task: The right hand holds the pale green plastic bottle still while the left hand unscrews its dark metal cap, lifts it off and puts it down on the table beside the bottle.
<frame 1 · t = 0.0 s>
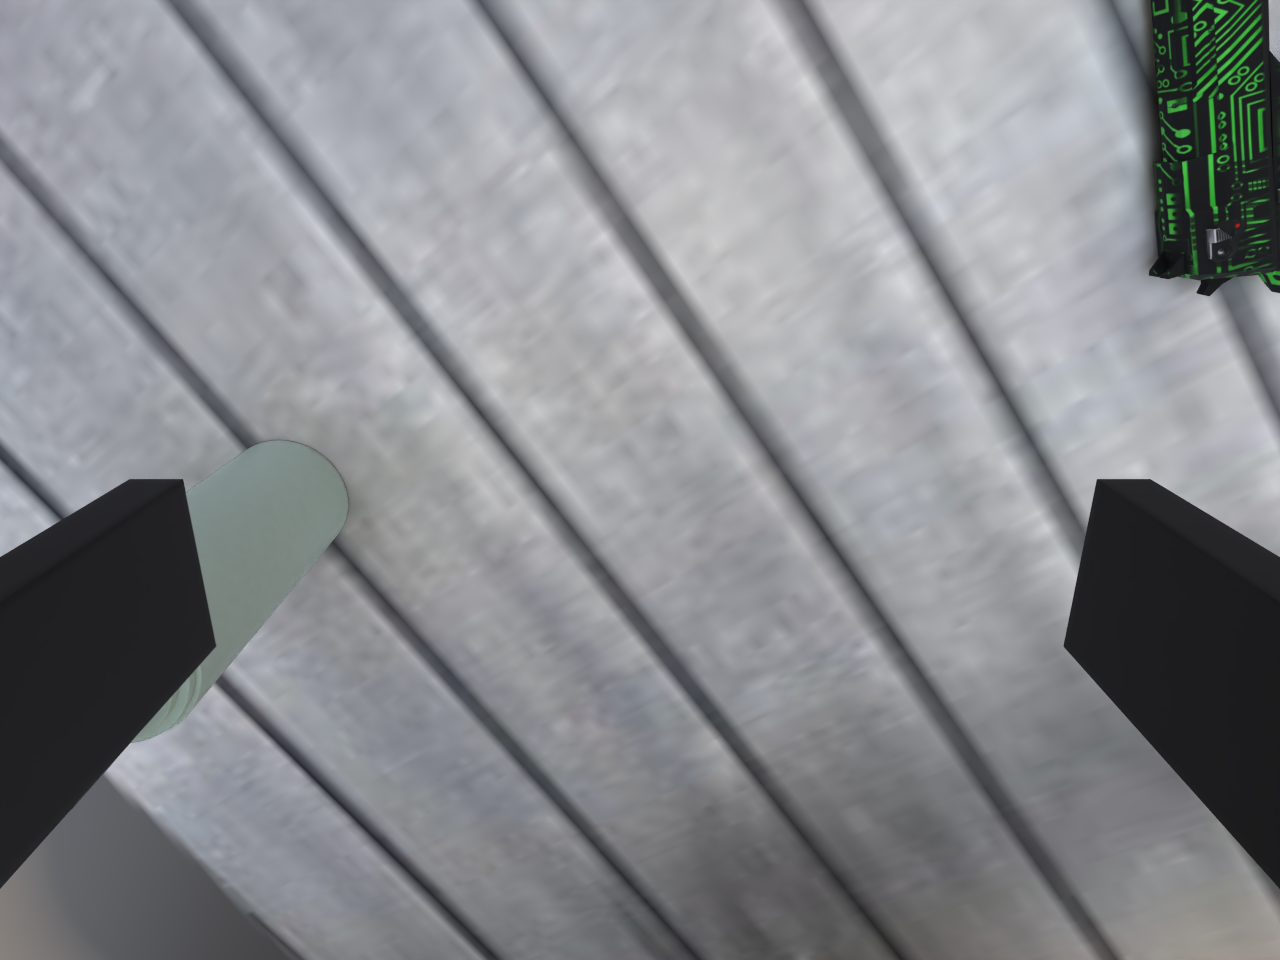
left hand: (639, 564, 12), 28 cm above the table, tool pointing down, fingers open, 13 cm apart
bottle: (287, 497, 42), on the table
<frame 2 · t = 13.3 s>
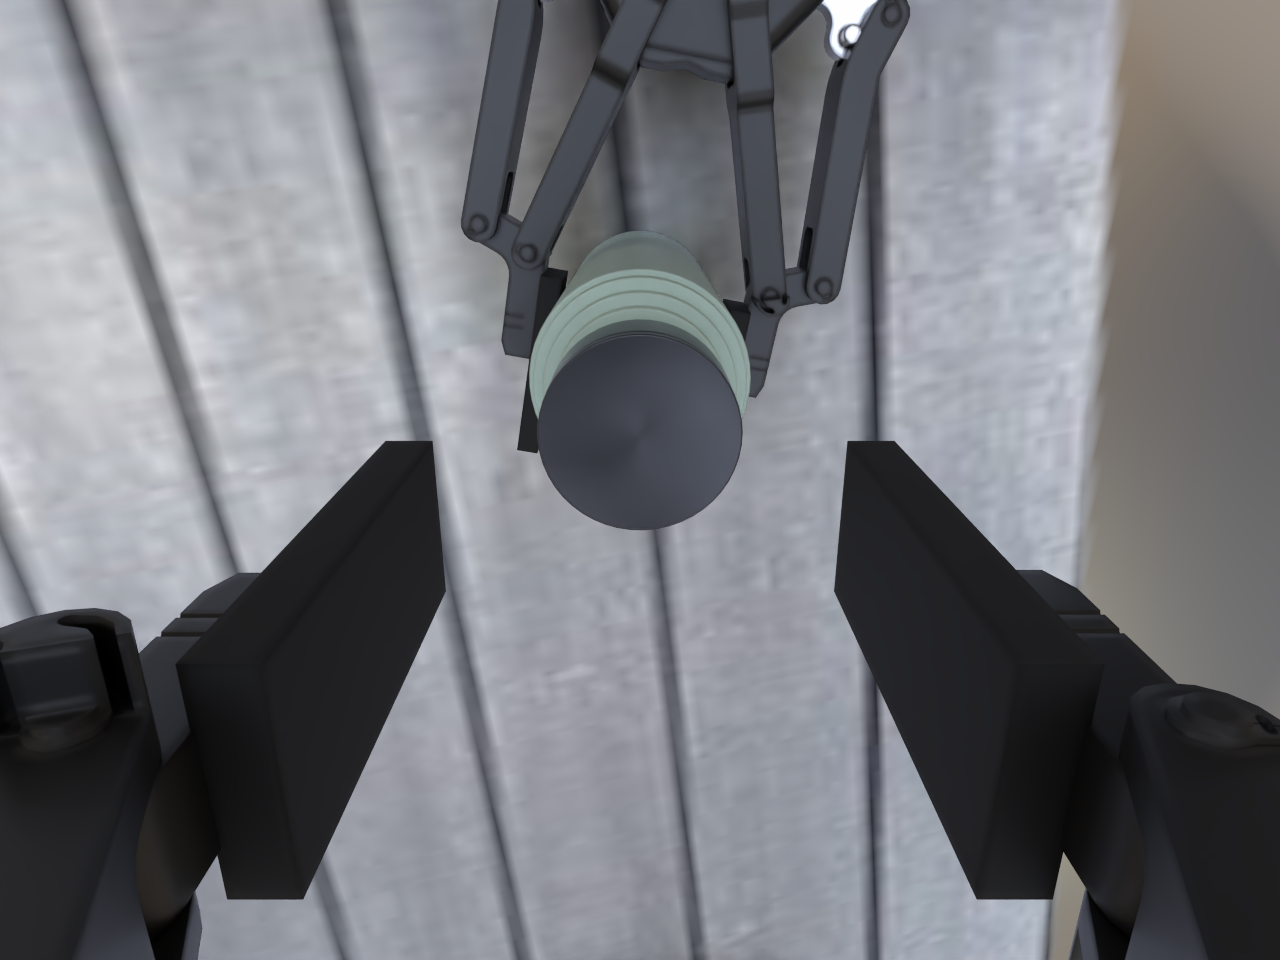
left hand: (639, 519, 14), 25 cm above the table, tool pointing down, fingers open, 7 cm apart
right hand: (617, 454, 33), fingers closed on bottle, 6 cm apart
bottle: (639, 301, 37), on the table, touching right hand
cap: (639, 432, 19), point 20 cm above the table, screwed on, not yet turned
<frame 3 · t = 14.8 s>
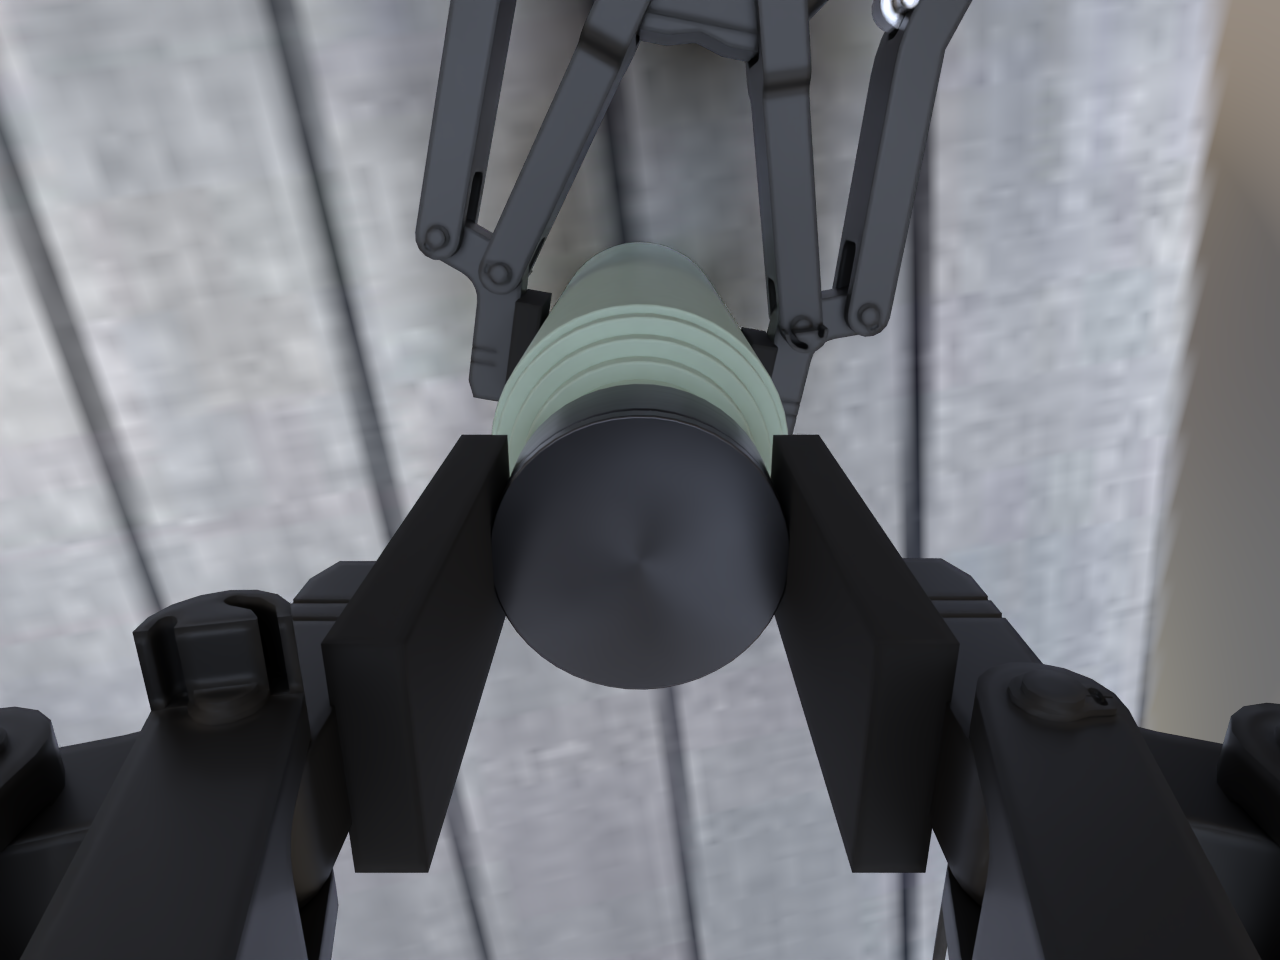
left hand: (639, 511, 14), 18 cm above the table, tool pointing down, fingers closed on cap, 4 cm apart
right hand: (612, 515, 27), fingers closed on bottle, 6 cm apart
bottle: (639, 326, 31), on the table, touching right hand
cap: (639, 552, 13), point 20 cm above the table, screwed on, not yet turned, touching left hand
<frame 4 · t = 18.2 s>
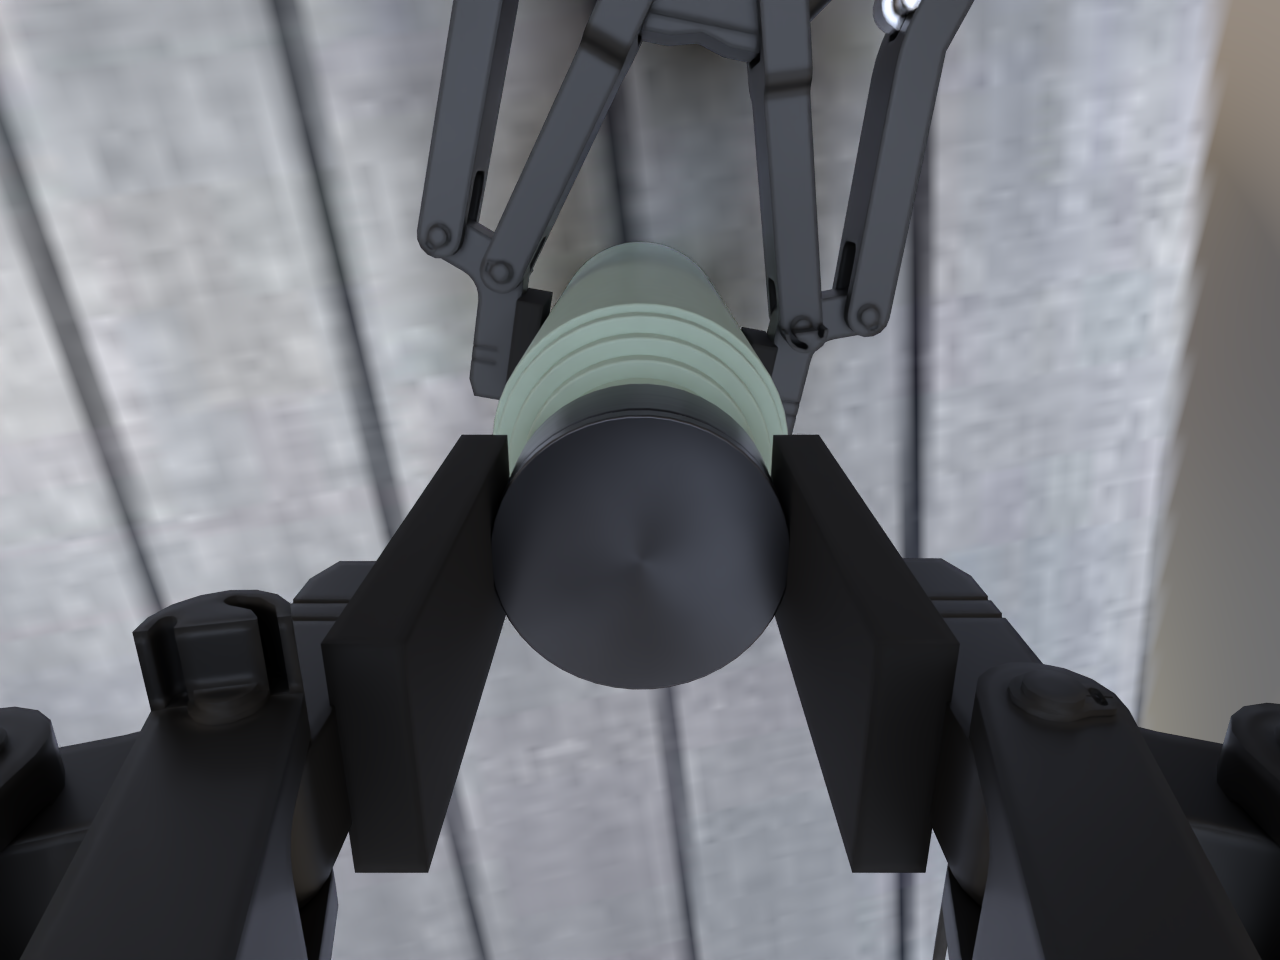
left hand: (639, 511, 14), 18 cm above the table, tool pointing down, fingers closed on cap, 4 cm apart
right hand: (612, 513, 27), fingers closed on bottle, 6 cm apart
bottle: (640, 325, 31), on the table, touching right hand
cap: (640, 552, 13), point 20 cm above the table, turned 100° so far, risen 0.1 cm, still on its thread, touching left hand
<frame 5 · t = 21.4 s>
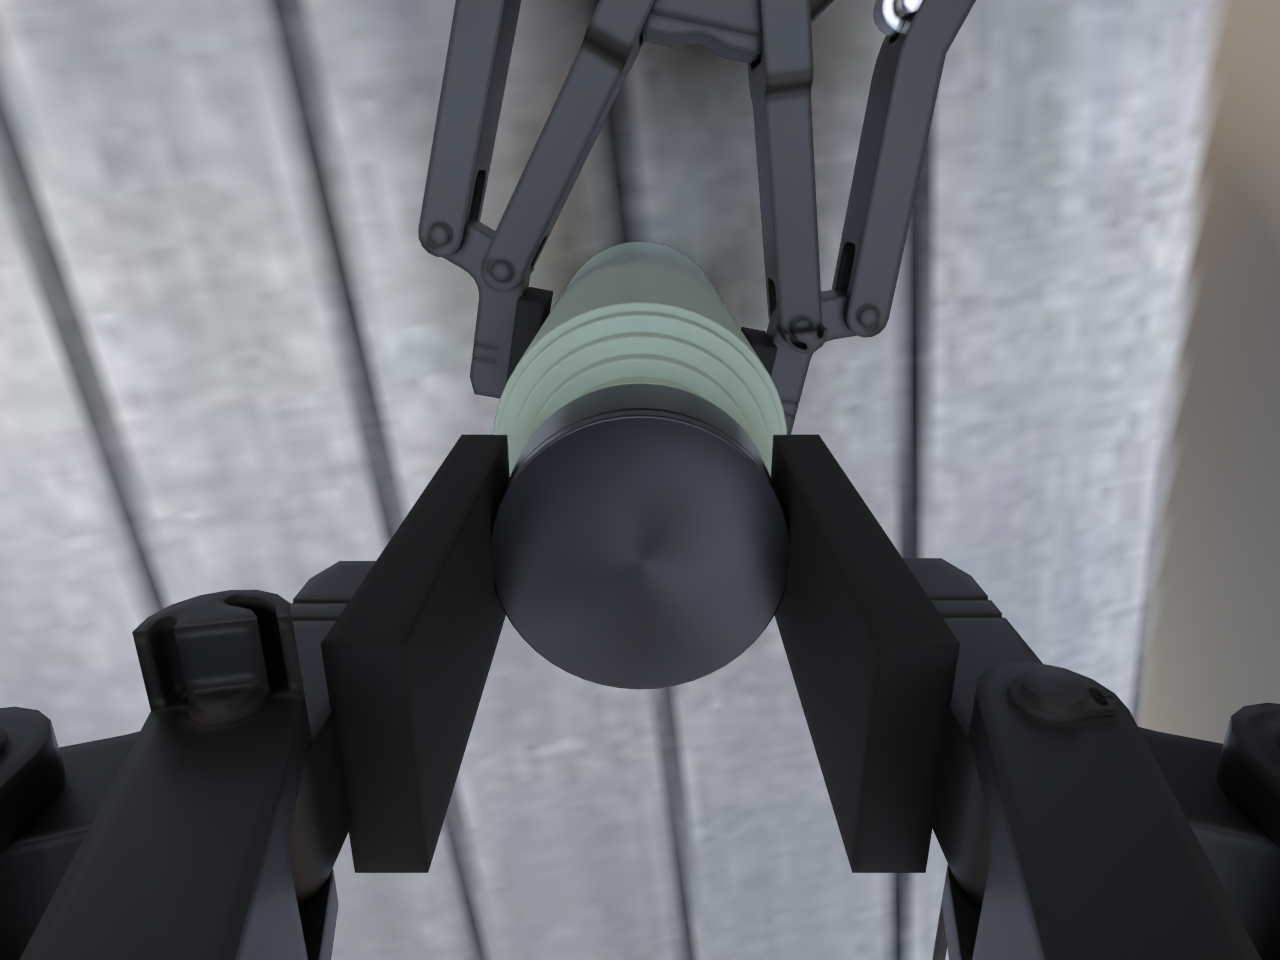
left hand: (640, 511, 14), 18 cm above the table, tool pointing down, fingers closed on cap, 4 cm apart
right hand: (611, 512, 27), fingers closed on bottle, 6 cm apart
bottle: (640, 325, 31), on the table, touching right hand
cap: (640, 552, 13), point 20 cm above the table, turned 200° so far, risen 0.2 cm, still on its thread, touching left hand
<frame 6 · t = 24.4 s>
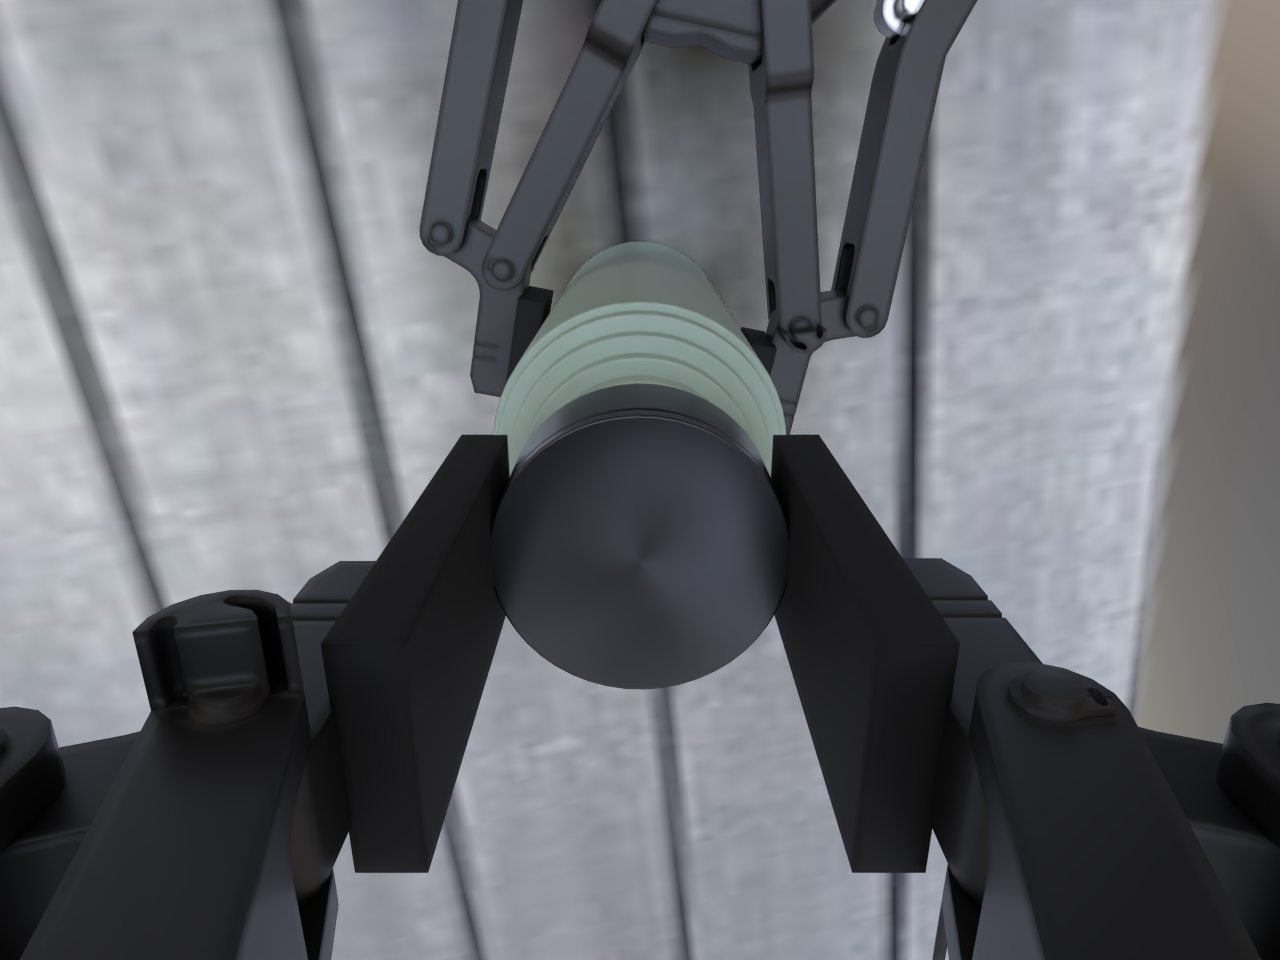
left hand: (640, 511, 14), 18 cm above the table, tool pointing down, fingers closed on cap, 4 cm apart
right hand: (610, 511, 27), fingers closed on bottle, 6 cm apart
bottle: (639, 324, 31), on the table, touching right hand
cap: (639, 552, 13), point 20 cm above the table, turned 300° so far, risen 0.3 cm, still on its thread, touching left hand
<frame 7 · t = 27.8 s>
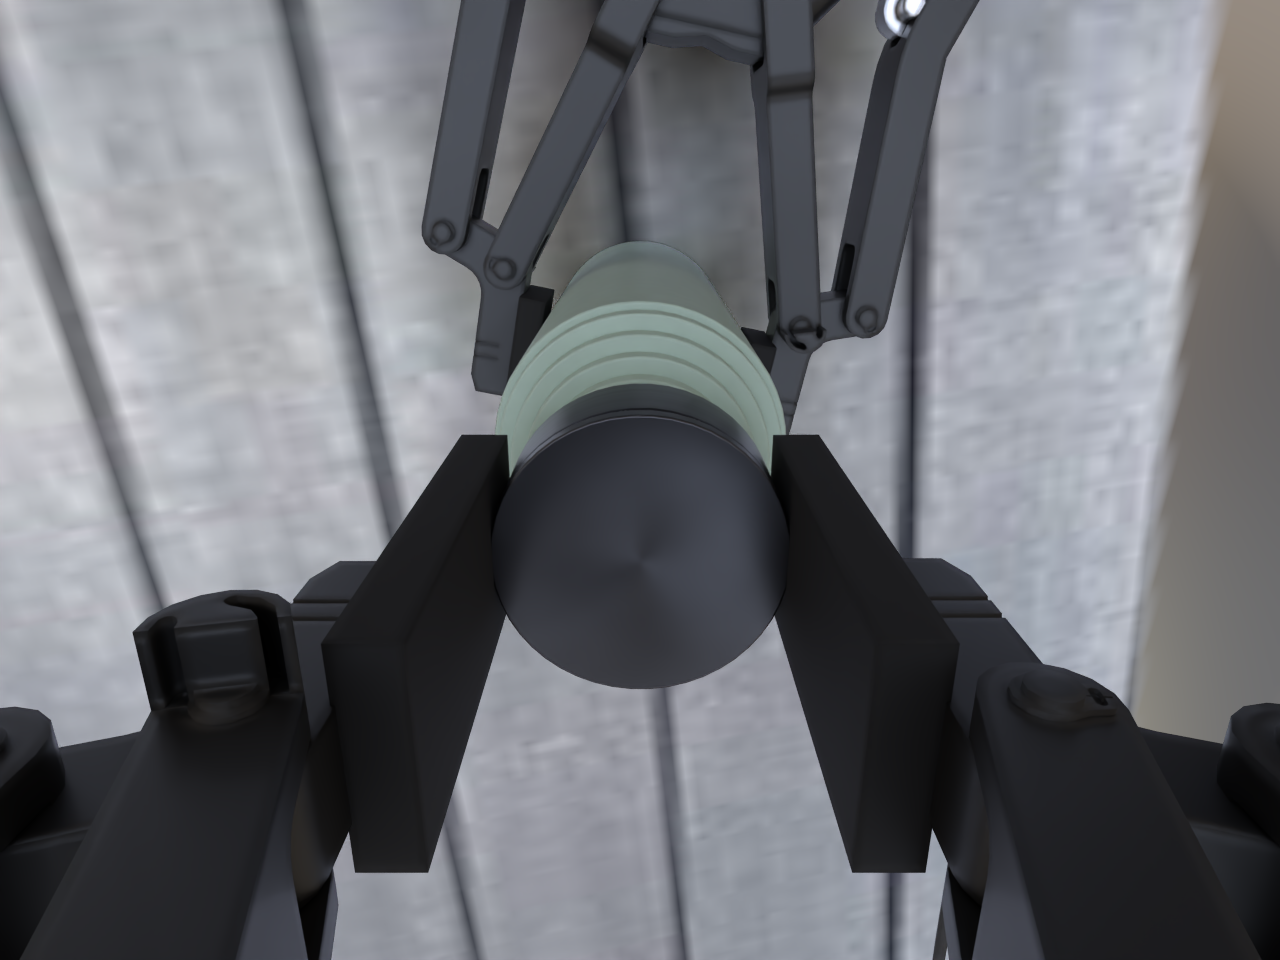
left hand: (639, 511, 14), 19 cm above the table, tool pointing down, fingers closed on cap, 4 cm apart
right hand: (610, 509, 27), fingers closed on bottle, 6 cm apart
bottle: (640, 324, 32), on the table, touching right hand
cap: (640, 552, 13), point 20 cm above the table, turned 400° so far, risen 0.4 cm, still on its thread, touching left hand
when the left hand's fingers open (1 cm above the table, at t = 33.7 s): cap drops 1 cm, point 2 cm above the table.
when the right hand's fingers open (6 cm above the table, at t = 34.9 s): bottle stays where it is, on the table.
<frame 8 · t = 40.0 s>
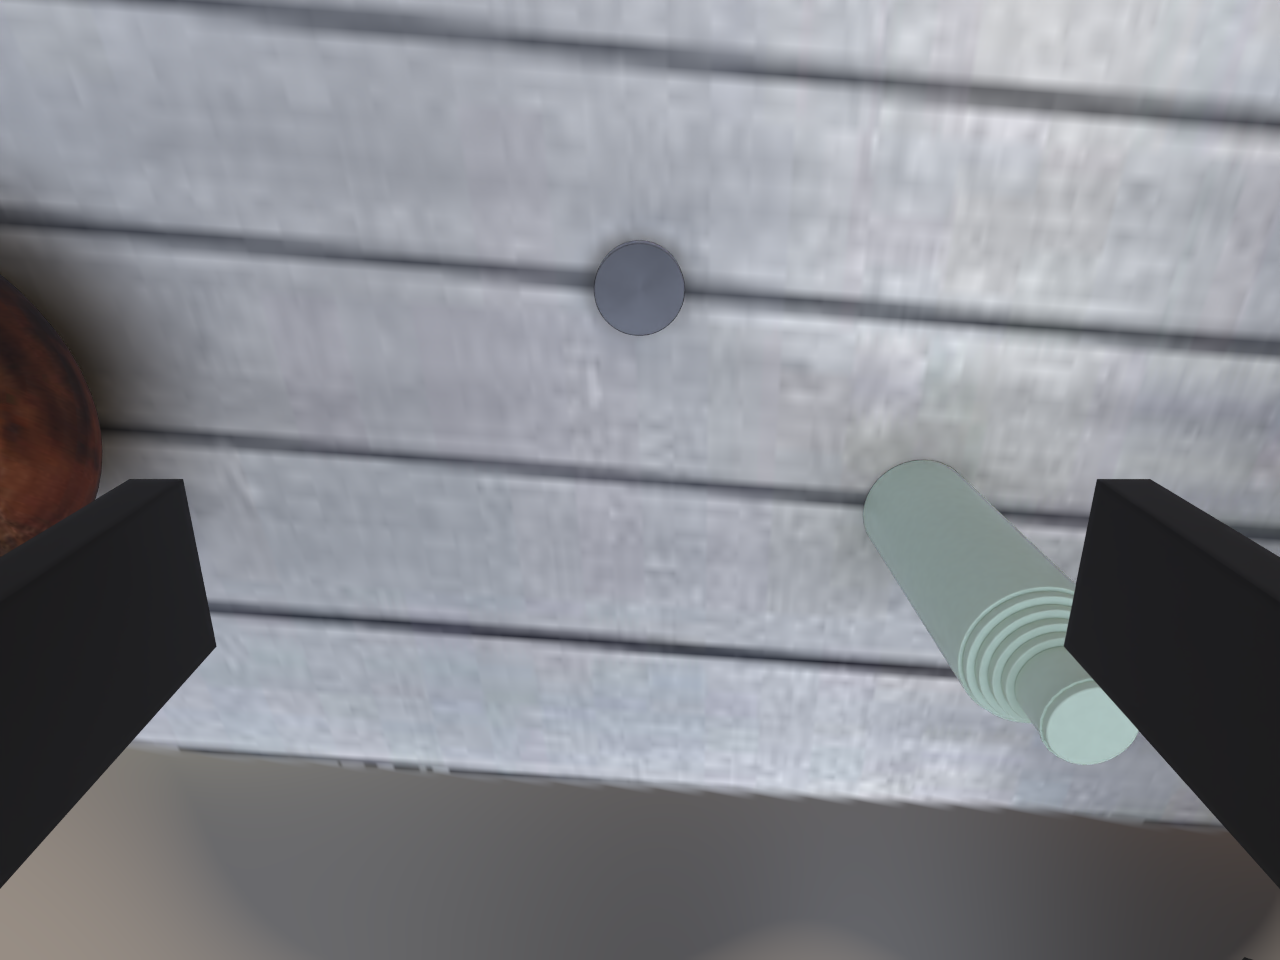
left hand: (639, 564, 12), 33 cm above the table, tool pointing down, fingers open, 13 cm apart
bottle: (916, 510, 47), on the table
cap: (639, 289, 41), point 2 cm above the table, off its thread
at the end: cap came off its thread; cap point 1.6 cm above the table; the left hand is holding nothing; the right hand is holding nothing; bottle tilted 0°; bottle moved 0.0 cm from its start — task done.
